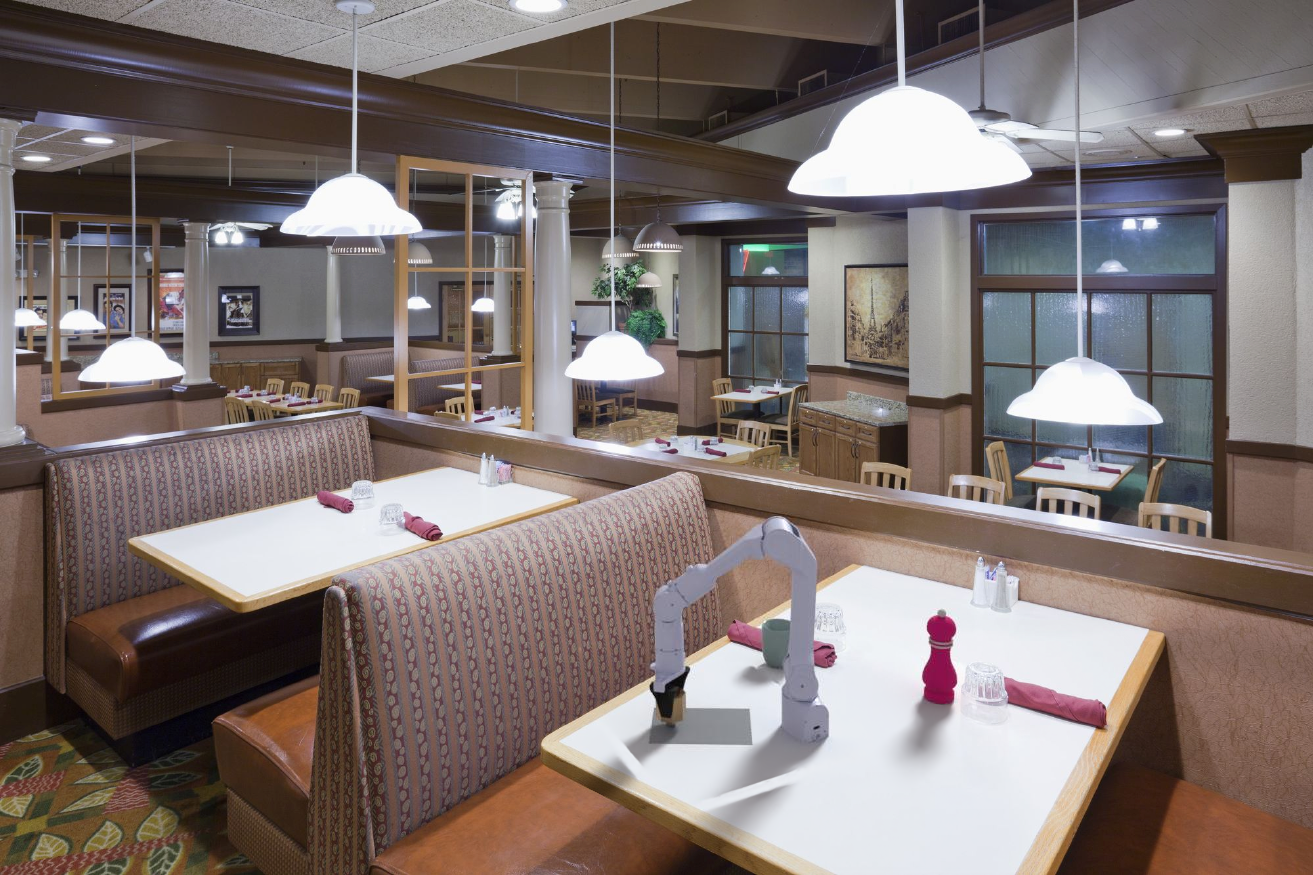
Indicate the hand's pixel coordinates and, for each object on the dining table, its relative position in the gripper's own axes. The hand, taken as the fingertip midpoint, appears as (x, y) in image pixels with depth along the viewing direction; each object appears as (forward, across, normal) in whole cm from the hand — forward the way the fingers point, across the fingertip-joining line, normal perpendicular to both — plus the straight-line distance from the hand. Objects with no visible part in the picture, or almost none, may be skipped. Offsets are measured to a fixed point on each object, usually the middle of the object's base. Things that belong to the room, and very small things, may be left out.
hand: (671, 709), depth 169 cm
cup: (+5, -36, +15) cm, 40 cm away
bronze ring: (+1, 0, 0) cm, 1 cm away
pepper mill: (+5, -30, +51) cm, 59 cm away
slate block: (+5, -2, +6) cm, 8 cm away
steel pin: (+3, 0, 0) cm, 3 cm away
